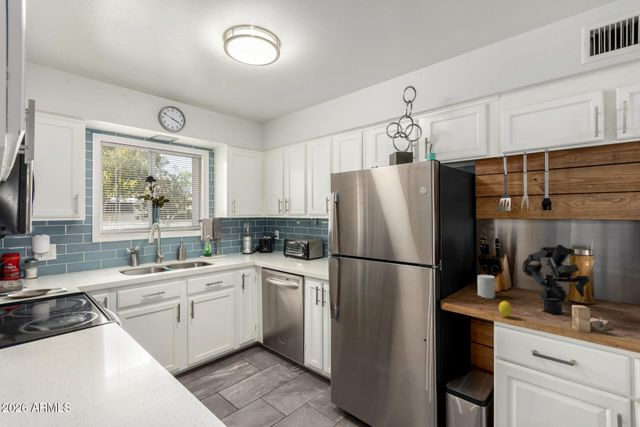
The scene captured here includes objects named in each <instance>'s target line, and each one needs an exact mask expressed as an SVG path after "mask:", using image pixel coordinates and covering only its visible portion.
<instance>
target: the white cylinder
mask: <svg viewBox="0 0 640 427" xmlns="http://www.w3.org/2000/svg"><path fill="white" fill-rule="evenodd" d="M478 295H479V296H481V297H480V298H482V297H484V298H483V299H495V298H496V277H495V276H494V275H490V274H489V275H488V274H478V275H477V296H478ZM479 296H478V297H479Z"/></svg>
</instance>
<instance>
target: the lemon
mask: <svg viewBox="0 0 640 427" xmlns="http://www.w3.org/2000/svg"><path fill="white" fill-rule="evenodd" d="M498 311H499V314H501V315H502V316H503V317H504V318H507V317H509V316H510V315H511V314H512V312H513V308H512V305H511V303H509V302H508V301H506V300H504V301H501V302H500V303H499V304H498Z"/></svg>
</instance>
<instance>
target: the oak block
mask: <svg viewBox="0 0 640 427" xmlns="http://www.w3.org/2000/svg"><path fill="white" fill-rule="evenodd" d="M590 317H591V309H590V308H589V307H587V306H584V305H577V304H572V305H571V325H572V326H571V328H572V329H574V330H576V331H578V332H584V333H585V332H586V333H591V329H590Z"/></svg>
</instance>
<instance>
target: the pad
mask: <svg viewBox="0 0 640 427" xmlns="http://www.w3.org/2000/svg"><path fill="white" fill-rule="evenodd" d="M590 321H599V318H596V317H591V316H590ZM602 322H603V324H606V325H608V322H609V320H605V319H602Z"/></svg>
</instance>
